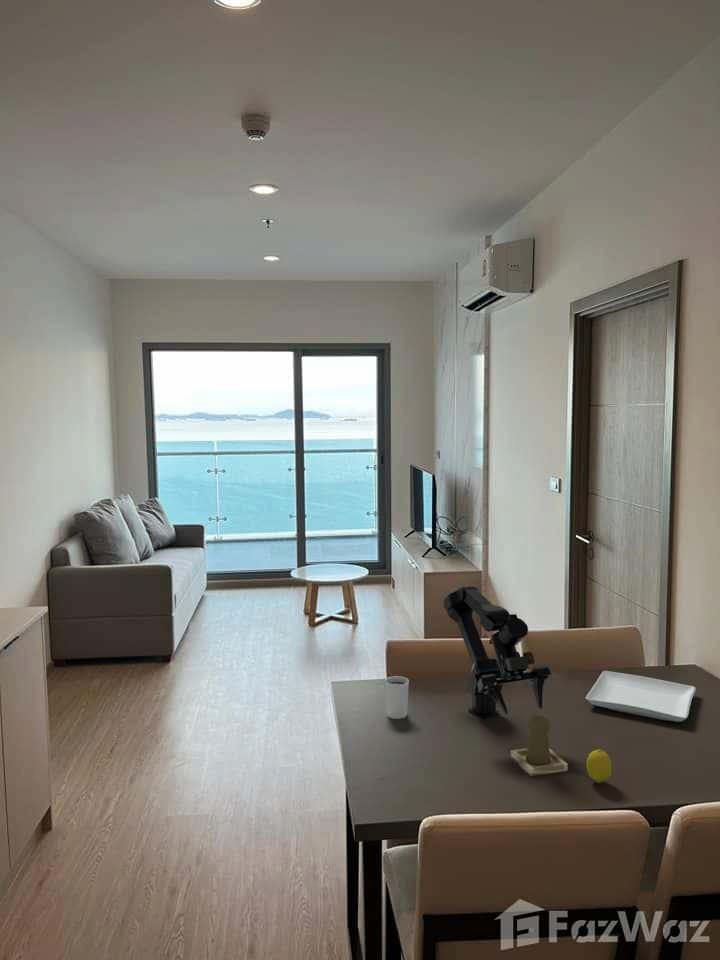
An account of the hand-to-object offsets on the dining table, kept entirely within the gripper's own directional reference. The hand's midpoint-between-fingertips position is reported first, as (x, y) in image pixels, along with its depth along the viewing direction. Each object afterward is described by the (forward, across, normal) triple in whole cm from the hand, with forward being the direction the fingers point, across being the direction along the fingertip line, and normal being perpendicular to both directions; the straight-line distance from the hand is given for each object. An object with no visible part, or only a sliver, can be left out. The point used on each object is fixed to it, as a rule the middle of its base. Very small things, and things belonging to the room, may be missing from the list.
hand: (523, 711), depth 184 cm
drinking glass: (-11, -28, +24) cm, 39 cm away
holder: (+13, 0, 0) cm, 13 cm away
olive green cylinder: (+12, 0, 0) cm, 12 cm away
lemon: (+21, +10, -7) cm, 24 cm away
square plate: (-4, +45, +27) cm, 53 cm away
